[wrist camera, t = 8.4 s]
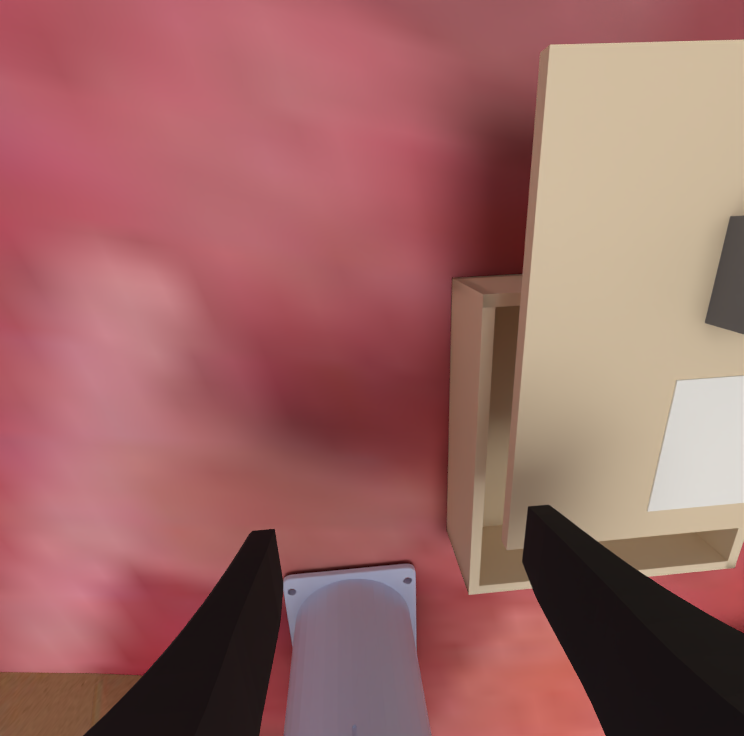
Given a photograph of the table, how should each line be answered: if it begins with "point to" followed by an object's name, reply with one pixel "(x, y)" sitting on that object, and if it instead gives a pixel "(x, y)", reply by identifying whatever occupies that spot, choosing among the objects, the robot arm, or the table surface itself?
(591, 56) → the carton lid
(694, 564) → the carton
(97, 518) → the table surface
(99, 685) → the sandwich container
